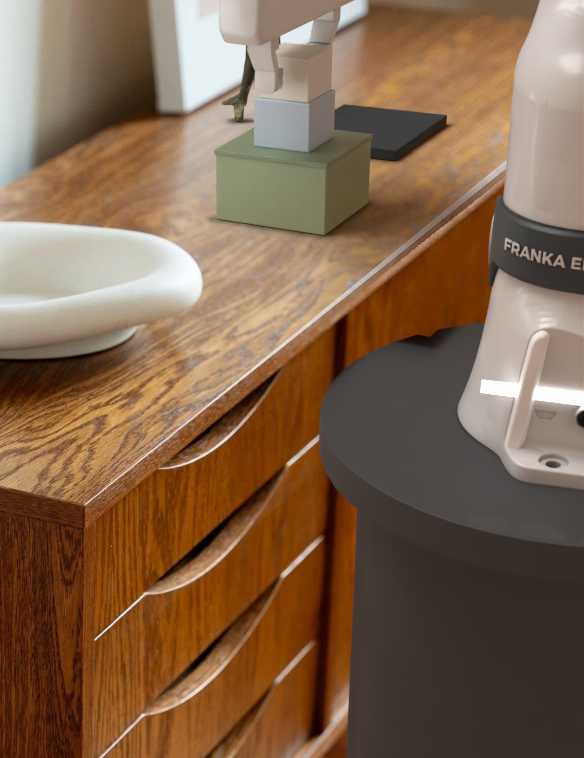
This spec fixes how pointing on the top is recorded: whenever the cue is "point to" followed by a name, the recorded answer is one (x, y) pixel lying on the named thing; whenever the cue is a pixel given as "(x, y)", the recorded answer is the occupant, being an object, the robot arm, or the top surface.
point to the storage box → (293, 182)
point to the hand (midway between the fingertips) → (294, 77)
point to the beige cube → (303, 72)
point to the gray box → (294, 123)
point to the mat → (389, 128)
